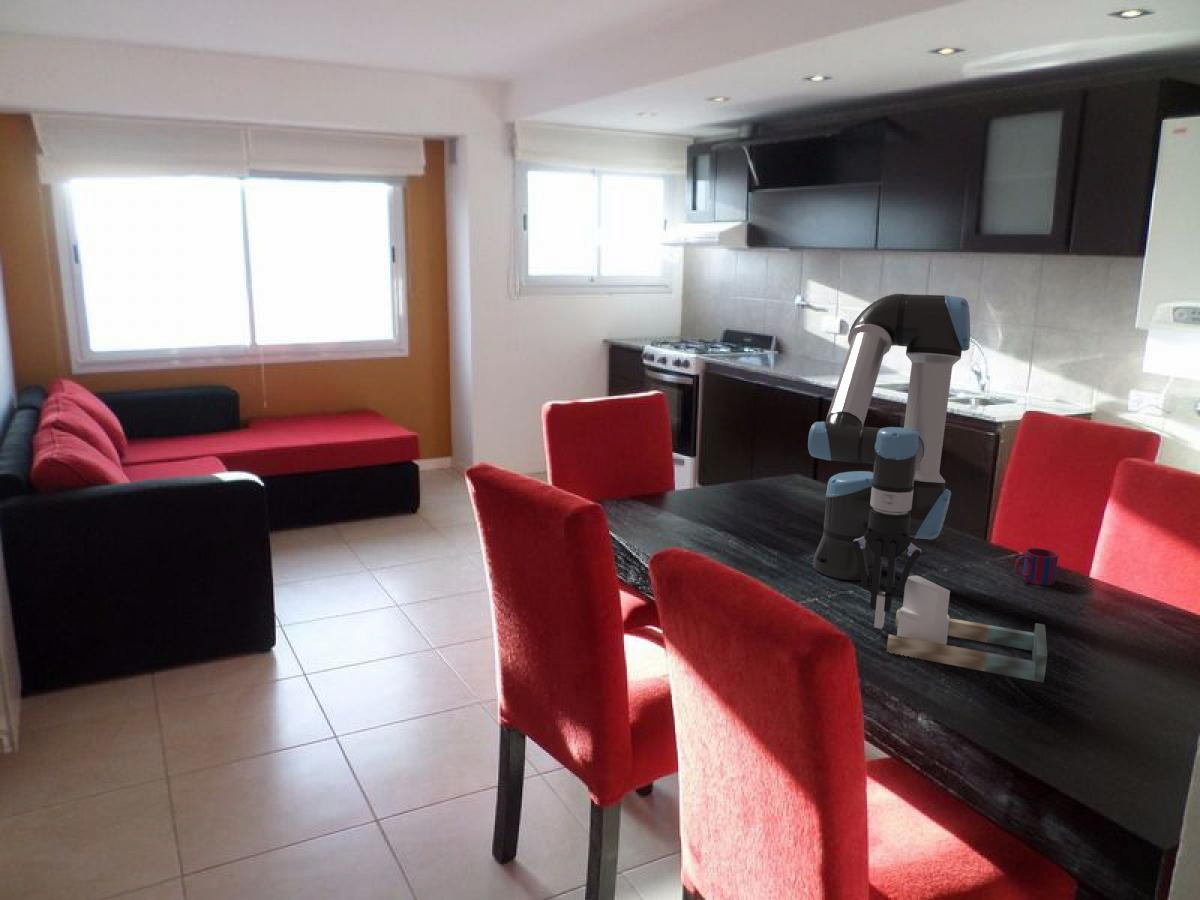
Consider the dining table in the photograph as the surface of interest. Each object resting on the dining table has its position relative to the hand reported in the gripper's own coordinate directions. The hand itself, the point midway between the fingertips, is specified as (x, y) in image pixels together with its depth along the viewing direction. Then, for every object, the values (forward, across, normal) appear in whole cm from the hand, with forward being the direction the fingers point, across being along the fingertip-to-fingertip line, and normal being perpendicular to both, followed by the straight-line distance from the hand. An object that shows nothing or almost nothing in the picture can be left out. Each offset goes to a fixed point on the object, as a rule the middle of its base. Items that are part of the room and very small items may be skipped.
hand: (878, 625), depth 176 cm
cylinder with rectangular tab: (+2, +8, 0) cm, 8 cm away
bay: (+2, +15, 0) cm, 15 cm away
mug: (+2, +28, +48) cm, 56 cm away
